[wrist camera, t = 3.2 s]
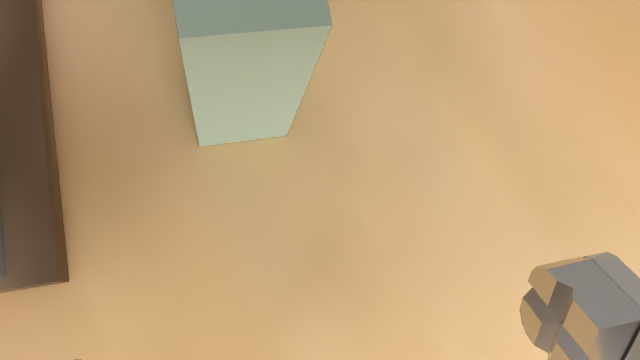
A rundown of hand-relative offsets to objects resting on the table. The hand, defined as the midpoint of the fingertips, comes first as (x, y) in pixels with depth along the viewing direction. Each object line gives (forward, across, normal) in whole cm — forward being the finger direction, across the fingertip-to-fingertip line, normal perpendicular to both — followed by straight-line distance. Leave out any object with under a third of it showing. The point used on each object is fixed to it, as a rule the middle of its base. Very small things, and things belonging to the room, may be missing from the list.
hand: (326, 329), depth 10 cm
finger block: (+17, 0, +3) cm, 17 cm away
